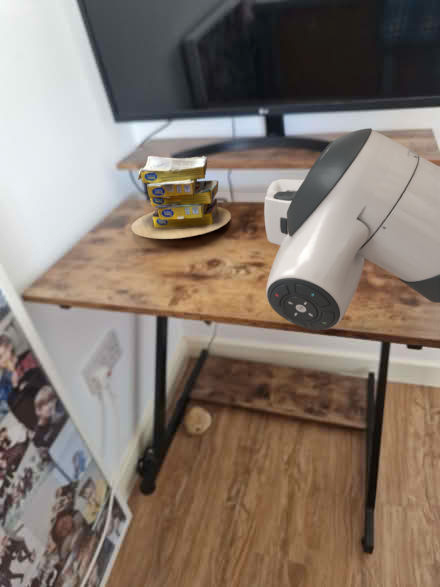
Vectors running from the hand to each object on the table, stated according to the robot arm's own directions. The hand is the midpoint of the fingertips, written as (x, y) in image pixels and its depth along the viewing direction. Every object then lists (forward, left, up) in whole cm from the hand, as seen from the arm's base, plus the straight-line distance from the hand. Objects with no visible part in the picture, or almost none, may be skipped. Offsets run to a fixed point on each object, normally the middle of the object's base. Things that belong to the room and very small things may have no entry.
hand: (352, 178), depth 58 cm
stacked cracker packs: (+43, -21, -23) cm, 53 cm away
